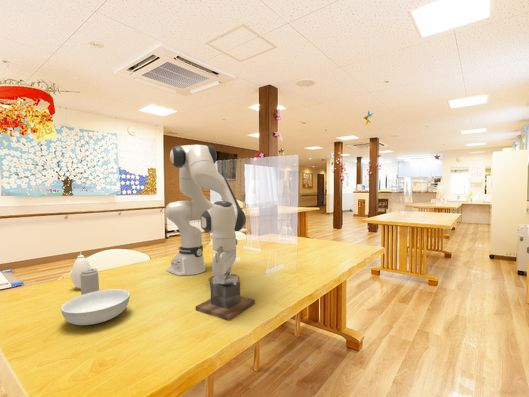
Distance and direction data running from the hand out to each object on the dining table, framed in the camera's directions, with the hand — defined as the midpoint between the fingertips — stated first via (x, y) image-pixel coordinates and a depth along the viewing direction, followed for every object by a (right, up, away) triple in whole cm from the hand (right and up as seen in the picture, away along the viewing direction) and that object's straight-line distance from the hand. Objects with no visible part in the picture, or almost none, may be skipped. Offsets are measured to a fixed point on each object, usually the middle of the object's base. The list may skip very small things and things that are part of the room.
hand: (225, 280), depth 105 cm
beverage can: (-59, -11, +12) cm, 61 cm away
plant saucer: (-4, -10, +27) cm, 29 cm away
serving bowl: (-45, -12, -7) cm, 47 cm away
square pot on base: (0, -10, 0) cm, 10 cm away
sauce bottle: (-70, -11, +24) cm, 75 cm away
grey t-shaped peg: (0, -8, 0) cm, 8 cm away
